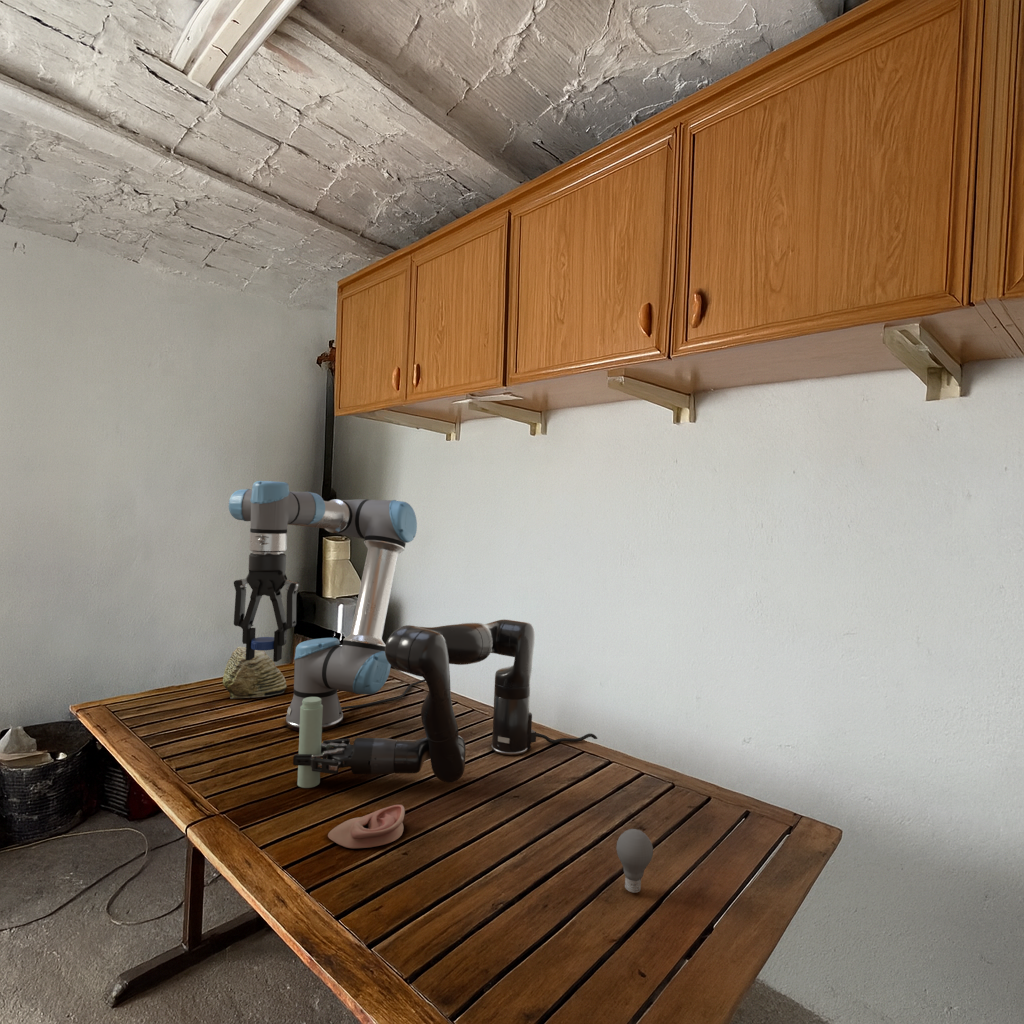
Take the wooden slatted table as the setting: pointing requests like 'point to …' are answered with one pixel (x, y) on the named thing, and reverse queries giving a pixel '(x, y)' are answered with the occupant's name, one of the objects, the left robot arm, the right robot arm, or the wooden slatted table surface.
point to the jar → (310, 739)
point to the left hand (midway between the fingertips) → (263, 659)
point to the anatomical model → (370, 828)
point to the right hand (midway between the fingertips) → (297, 754)
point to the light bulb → (634, 857)
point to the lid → (262, 643)
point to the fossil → (252, 675)
